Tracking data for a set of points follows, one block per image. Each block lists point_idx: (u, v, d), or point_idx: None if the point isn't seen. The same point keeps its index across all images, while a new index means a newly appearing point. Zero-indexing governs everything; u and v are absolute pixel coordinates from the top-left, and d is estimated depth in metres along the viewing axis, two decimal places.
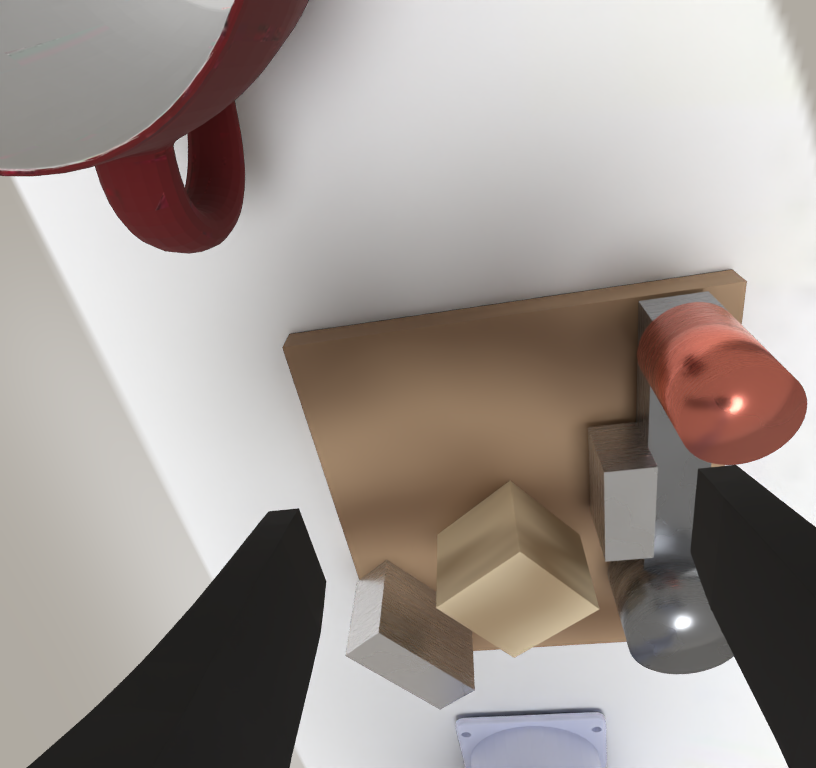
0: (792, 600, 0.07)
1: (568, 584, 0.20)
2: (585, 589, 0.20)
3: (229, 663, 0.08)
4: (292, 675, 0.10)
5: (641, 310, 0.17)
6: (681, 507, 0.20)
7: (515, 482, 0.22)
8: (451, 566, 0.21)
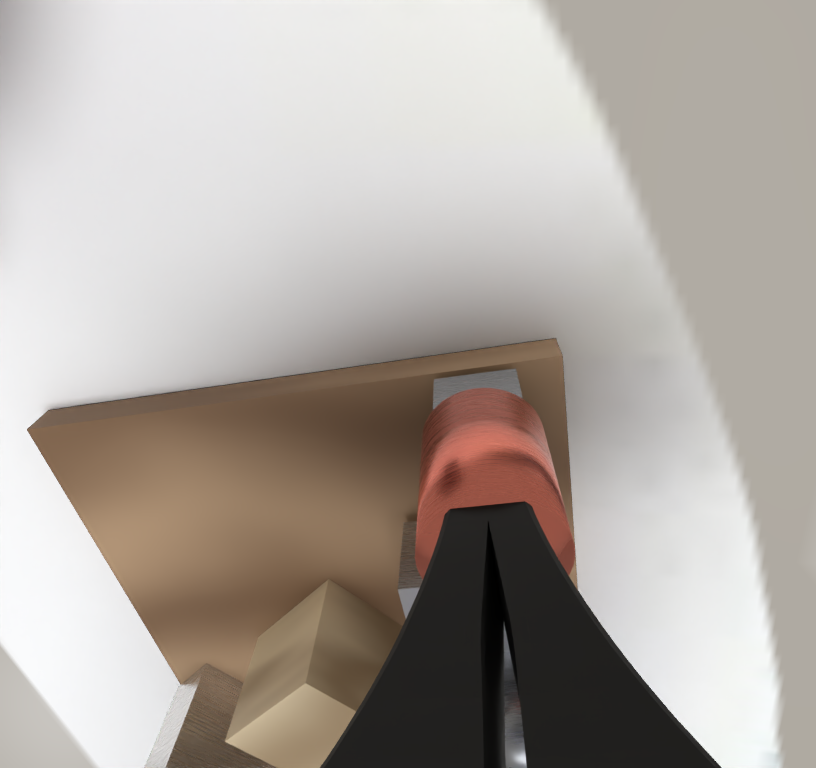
0: (508, 619, 0.08)
1: None
2: None
3: (484, 647, 0.07)
4: (499, 663, 0.09)
5: None
6: None
7: (335, 581, 0.18)
8: (253, 685, 0.18)
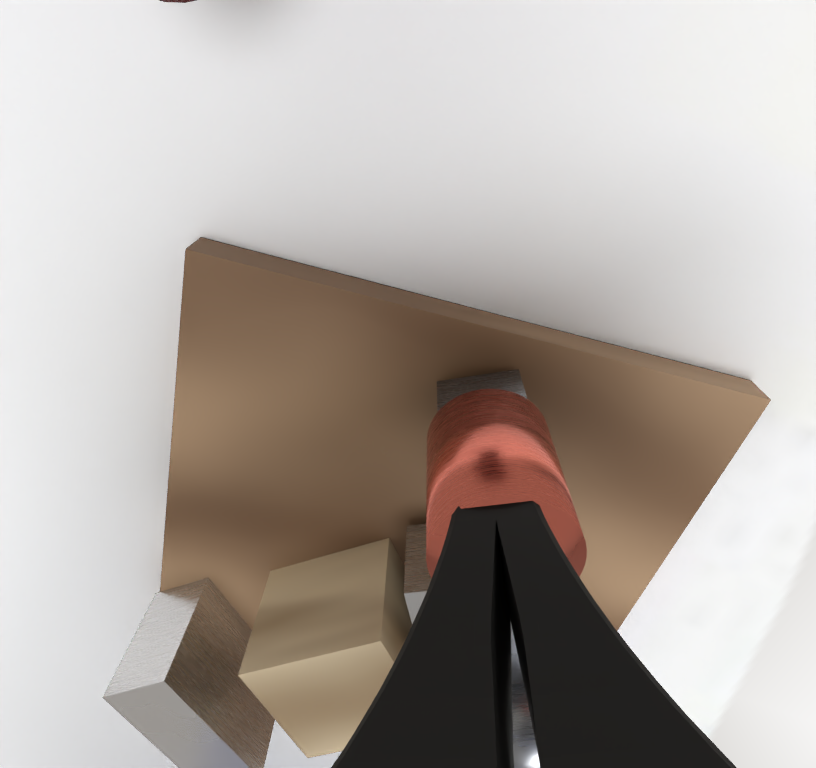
0: (518, 618, 0.08)
1: None
2: None
3: (493, 646, 0.07)
4: (508, 662, 0.09)
5: (437, 393, 0.14)
6: None
7: None
8: (277, 623, 0.16)
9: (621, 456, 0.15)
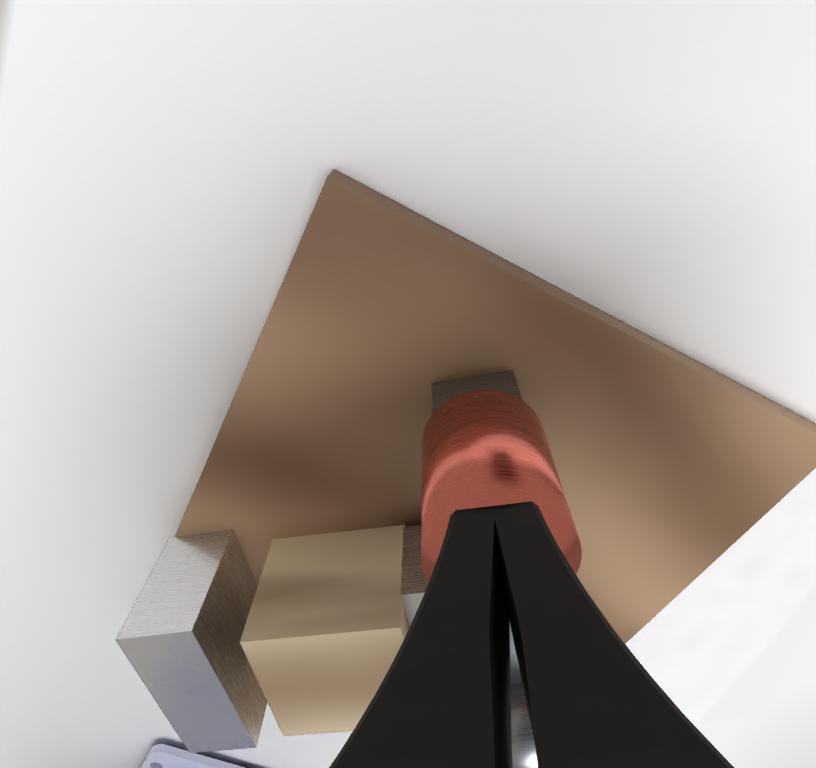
0: (516, 618, 0.08)
1: None
2: None
3: (492, 647, 0.07)
4: (506, 662, 0.09)
5: (432, 394, 0.14)
6: None
7: None
8: (283, 594, 0.15)
9: (687, 475, 0.16)
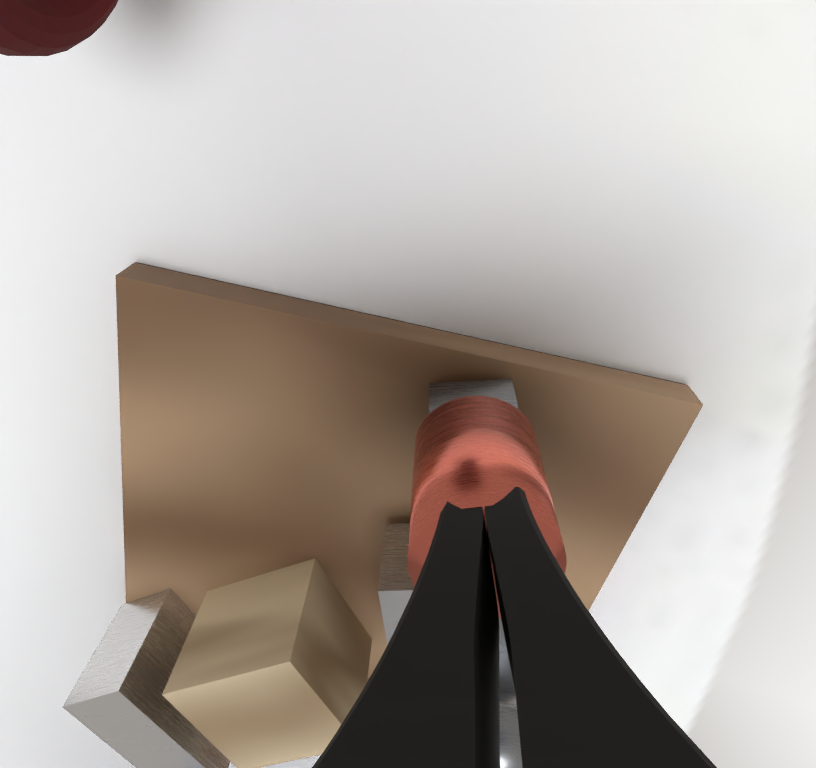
0: (505, 619, 0.08)
1: (334, 709, 0.16)
2: None
3: (477, 647, 0.07)
4: (495, 663, 0.09)
5: (429, 395, 0.14)
6: None
7: (362, 544, 0.17)
8: (204, 643, 0.17)
9: (560, 463, 0.16)
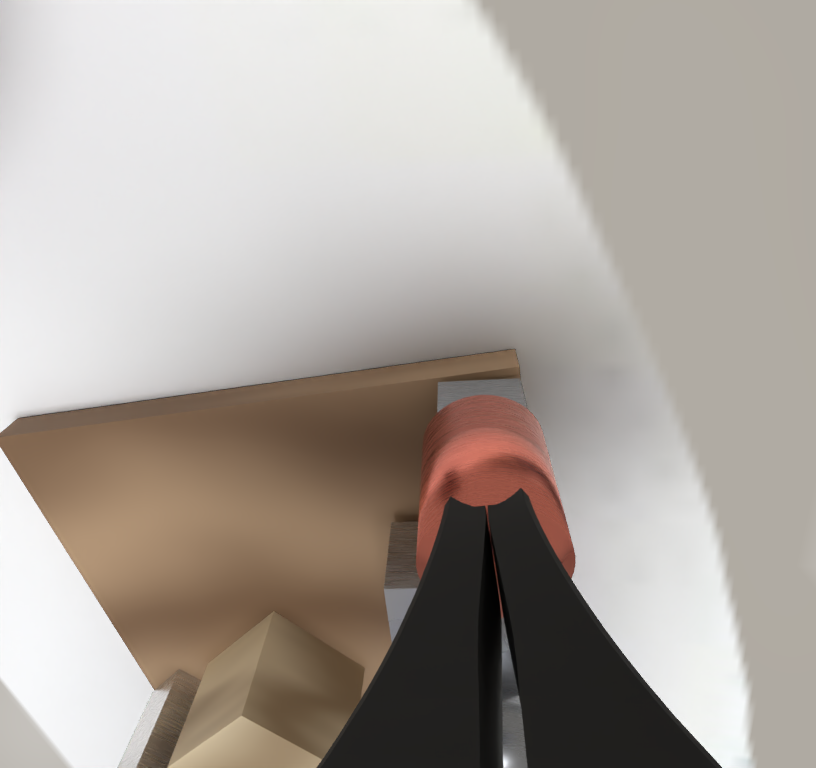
0: (509, 619, 0.08)
1: (309, 747, 0.17)
2: None
3: (480, 648, 0.07)
4: (497, 663, 0.09)
5: (438, 393, 0.14)
6: None
7: (304, 588, 0.19)
8: (197, 713, 0.19)
9: None
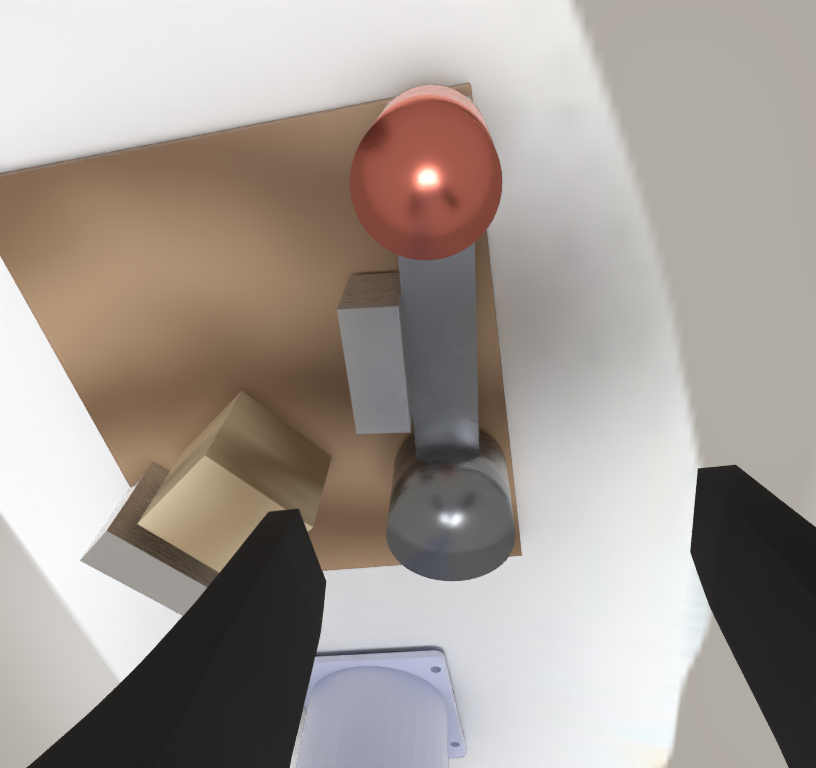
0: (792, 600, 0.07)
1: (272, 497, 0.18)
2: (302, 506, 0.18)
3: (229, 663, 0.08)
4: (292, 675, 0.10)
5: None
6: (448, 377, 0.17)
7: (269, 361, 0.19)
8: (167, 481, 0.19)
9: None
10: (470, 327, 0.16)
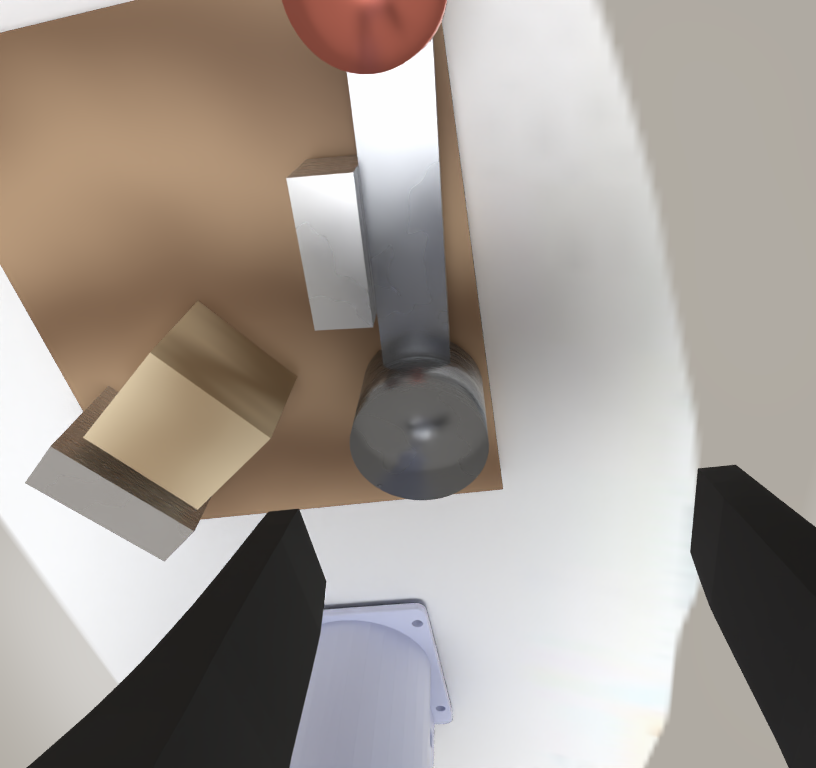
0: (792, 600, 0.07)
1: (226, 403, 0.16)
2: (259, 416, 0.17)
3: (229, 662, 0.08)
4: (292, 675, 0.10)
5: None
6: (413, 269, 0.16)
7: (226, 266, 0.18)
8: None
9: (339, 81, 0.15)
10: (434, 207, 0.15)
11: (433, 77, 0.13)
